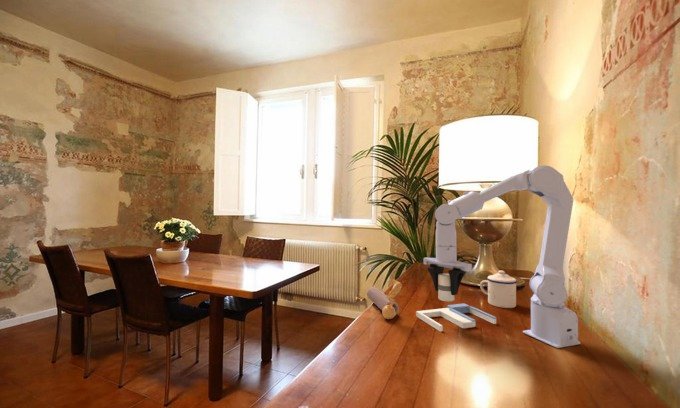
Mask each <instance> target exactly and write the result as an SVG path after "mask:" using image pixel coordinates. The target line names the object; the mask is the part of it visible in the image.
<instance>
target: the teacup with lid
mask: <svg viewBox="0 0 680 408" xmlns="http://www.w3.org/2000/svg"><path fill="white" fill-rule="evenodd" d="M486 279H487V280H486ZM486 279H484V280H481V281H480V283H479V287H480V290H481V292H482V293H483V294H485V295H487V302H488V304H489V305H491V306H494V307H498V308H501V309H503V308H504V309H513V308H515V307H517V279H516V278H515V277H512V276H510V275H509V274H507V273H506V272H505V271H504V270H498V272H496V273H494V274H490V275H488V276H487V278H486ZM484 283H487V290H485V287H484Z"/></svg>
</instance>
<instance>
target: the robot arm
mask: <svg viewBox="0 0 680 408" xmlns="http://www.w3.org/2000/svg"><path fill="white" fill-rule="evenodd" d="M525 190H527V191H528V192H531V193H533V194H534V195H537V196H538V197H540V199H541V200H542V201H543V202H545V204H547V211H546V218H545V221H544V222H545V223H544V229H543V230H544V231H543V236H542V242H541V250H540V255H539V260H538V261H539V262H538V264H537V265H536V268H535V272H534V275H532V276H531V278H530V279H529V289H530V290H531V292H532V293H533V294H532V296H531V297H530V329H526V330H522V333H523V334H524V335H527V336H530V337H532V338H534V339H536V340H539V341H541V342H543V343H545V344H548V345H550V346H552V347H554V348H557V349H560V348H566V347H571V346H576V345H581V341H580V340H579V319H578V318H579V317H578V315H577V314H576V312H575V311H573V310H572V309H569V308H567V307H566V304H565V302H566V300H567V298H568V291H567V288H566V287H565V280H566V277H565V273H564V270H563V268H564V263H565V262H564V260H565V255H566V248H567V244H568V243H567V242H568V237H569V236H568V235H569V231H570V223H571V218H572V217H571V216H572V212H573V206H574V198H573V195H572V194H571V191H570V190H569V188H568V186H567V184H566V182H565V179H564V175H563V174H562V173H560V172H559V171H558V170H557V169H556V168H554V167H553V166H550V165H538V166H536V167H534V168H533V169H532V170H530V169H528V170H526V171H525V170H524V171H521V172H519V173H516V174H514V175H511V176H509V177H508V178H506V179H503V180H502V181H500V182H497V183H495V184H494V185H492V186H489V187H488V188H486V189H484V190H482V191H480V192H477V191H474V190H470V191H469V192H468V191H464V192H463V193H462V195H461V196H458V197H457V198H455V199H453V200H452V199H449V200H447V203H443V204H441V205H440V206H438V207H437V208H436V210H435V211H434V216H435V219H436V221H435V222H436V223H435V227H436V229H435V257H430V256H429V257H423V265H429V266H427V271H428V272H429V274H430V277H431V278H432V282H433V285H434V288H435V291H436V292H438V274H441V273H444V269H445V268H446V269H447V268H448V269H449V270H448V271H447V272H448V273H447V274H449V276H450V282H451V295H454V296H456V295H458V292H459V288H460V285H461V282H462V280H463V278H464V277H465V274H466V273H469V272H472V271H473V269H472V268H473V266H472V265H473V264H472V263H469V262H468V263H467V262H462V261H460V260H459V261H458V259H457V254H458V252H457V230H456V220H457V219H463V218H465V217H468V216H470V215H472V214H474V213H475V212H478V211H480V210H482V209H483V207H484V204H485V203H486V202H489V201H491V200H493V199H496V198H498V197H500V196H502V195H504V194H507V193H509V192H511V191H525Z"/></svg>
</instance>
